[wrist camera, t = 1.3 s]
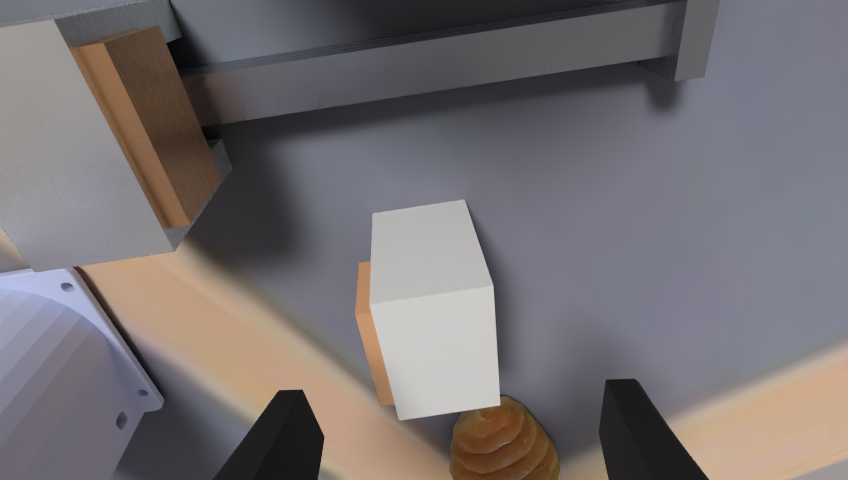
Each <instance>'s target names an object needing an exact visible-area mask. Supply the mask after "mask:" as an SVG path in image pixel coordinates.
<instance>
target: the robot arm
mask: <svg viewBox="0 0 848 480" xmlns="http://www.w3.org/2000/svg"><path fill="white" fill-rule="evenodd" d="M68 283H69V284H71V285H73V286H74V287H73V286H70V285H69V284H68ZM163 404H164V398H163V397H162V395H161V394H160V393H159V391H158V390H157V388H156V387H155V385H154V384H153V382H152V381H151V379H150V378H149V376H148V375H147V373H146V372H145V370H144V369H143V368H142V366H141V365H140V363H139V362H138V360H137V359H136V357H135V356H134V354H133V353H132V351H131V350H130V348H129V347H128V345H127V344H126V343H125V341H124V340H123V338H122V337H121V335H120V334H119V332H118V331H117V329H116V328H115V326H114V325H113V323H112V322H111V321H110V319H109V318H108V316H107V315H106V313H105V312H104V310H103V309H102V307H101V306H100V304H99V303H98V301H97V300H96V298H95V297H94V296H93V294H92V293H91V291H90V290H89V288H88V287H87V285H86V284H85V282H84V281H83V279H82V278H81V276H80V275H79V274H78V272H77V271H76V270H75V269H74V268H73V267H70V268H63V269H57V270H50V271H44V272H37V273H35V272H34V271H33V270H32V268H31V269H25V270H18V271H12V272H5V273H0V480H110V479H111V477H112V475H113V473H114V471H115V469H116V467H117V465H118V463H119V461H120V459H121V457H122V455H123V453H124V451H125V449H126V448H127V446H128V444H129V442H130V440H131V438H132V436H133V434H134V432H135V430H136V428H137V426H138V424H139V422H140V420H141V418H142V417H143V415H144V412H150V411H156V410H159V409H161V408H162V406H163ZM599 435H600V440H601V445H602V450H603V455H604V460H605V464H606V469H607V474H608V478H609V480H709V479H708V478H707V476H706V475H705V474H704V473H703V471H702V470H701V469H700V467H699V466H698V465H697V464H696V462H695V461H694V460H693V459H692V457H691V456H690V455H689V453H688V452H687V451H686V449H685V448H684V447H683V445H682V444H681V443H680V441H679V440H678V439H677V437H676V436H675V435H674V433H673V432H672V430H671V429H670V428H669V426H668V425H667V423H666V422H665V421H664V419H663V418H662V416H661V415H660V414H659V412H658V411H657V409H656V408H655V406H654V405H653V403H652V402H651V400H650V399H649V397H648V396H647V394H646V393H645V391H644V390H643V388H642V387H641V385H640V383H639V382H638V381H637V380H635V379H614V380H606V383H605V390H604V398H603V405H602V413H601V420H600V427H599ZM323 443H324V435H323V433H322V431H321V429H320V426H319V424H318V422H317V420H316V418H315V416H314V413H313V411H312V409H311V407H310V405H309V403H308V400H307V398H306V396H305V394H304V392H303V390H279V391H278V392H277V394H276V395H275V396H274V398H273V399H272V400H271V402H270V403H269V404H268V406H267V407H266V409H265V410H264V411H263V413H262V414H261V416H260V417H259V418H258V420H257V421H256V422H255V424H254V425H253V427H252V428H251V429H250V431H249V432H248V433H247V435H246V436H245V438H244V439H243V440H242V442H241V443H240V444H239V446H238V447H237V448H236V450H235V451H234V452H233V454H232V455H231V456H230V458H229V459H228V460H227V462H226V463H225V464H224V465H223V467H222V468H221V469H220V471H219V472H218V473H217V475H216V476H215V477H214V479H213V480H318V474H319V468H320V463H321V456H322V450H323Z"/></svg>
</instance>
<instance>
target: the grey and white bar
mask: <svg viewBox="0 0 848 480" xmlns="http://www.w3.org/2000/svg"><path fill="white" fill-rule="evenodd" d="M719 1H720V0H628V1H622V2H615V3H609V4H602V5H596V6H589V7H583V8H576V9H570V10H563V11H557V12H550V13H544V14H537V15H531V16H524V17H518V18H511V19H505V20H498V21H492V22H485V23H479V24H472V25H466V26H459V27H452V28H446V29H439V30H433V31H426V32H420V33H413V34H407V35H400V36H394V37H387V38H381V39H374V40H368V41H361V42H355V43H348V44H342V45H335V46H329V47H322V48H316V49H309V50H303V51H296V52H290V53H283V54H277V55H270V56H263V57H257V58H250V59H244V60H237V61H231V62H224V63H218V64H211V65H205V66H198V67H192V68H185V69H179V70H177V68H176V66H175V64H174V61H173V59H172V56H171V54H170V51H169V49H168V46H167V44H166V43H168V42H170V41H172V40H175V39H177V38H180V37H182V34H181V32H180V29H179V26H178V24H177V21H176V19H175V16H174V14H173V11H172V8H171V6H170V3H169V1H168V0H140V1H134V2H127V3H121V4H114V5H108V6H102V7H95V8H89V9H82V10H76V11H69V12H63V13H56V14H50V15H43V16H38V17H33V18H27V19H22V20H16V21H11V22H6V23H0V227H1V228H2V229H3V231H4V232H5V233H6V235H7V236H8V237H9V239H10V240H11V241H12V243H13V244H14V245H15V247H16V248H17V249H18V251H19V252H20V254H21V255H22V256H23V258H24V259H25V260H26V262H27V263H28V264H29V266H30V267H31V268H32V270H33V271H34V272H35V273H37V272H44V271H50V270H57V269H63V268H70V267H76V266H83V265H90V264H96V263H103V262H109V261H116V260H122V259H129V258H136V257H142V256H149V255H155V254H162V253H168V252H174V251H175V250H176V248H177V247H178V246H179V244H180V243H181V241H182V240H183V238H184V237H185V235H186V234H187V233H188V231H189V230H190V228H191V227H192V225H193V224H194V222H195V221H196V220H197V218H198V217H199V215H200V214H201V212H202V211H203V210H204V208H205V207H206V205H207V204H208V202H209V201H210V199H211V198H212V197H213V195H214V194H215V192H216V191H217V189H218V188H219V186H220V185H221V184H222V182H223V181H224V179H225V178H226V176H227V175H228V174H229V172H230V171H231V169H232V168H233V166H232V163H231V161H230V158H229V156H228V153H227V151H226V148H225V145H224V143H223V140H222V138H219V139H213V140H205V137H204V135H203V132H202V130H201V127H206V126H212V125H219V124H225V123H232V122H238V121H245V120H251V119H258V118H264V117H271V116H277V115H284V114H291V113H297V112H304V111H310V110H317V109H323V108H330V107H336V106H343V105H349V104H356V103H362V102H369V101H376V100H382V99H389V98H395V97H402V96H408V95H415V94H421V93H428V92H434V91H441V90H447V89H454V88H461V87H467V86H474V85H480V84H487V83H493V82H500V81H506V80H513V79H519V78H526V77H532V76H539V75H545V74H552V73H559V72H565V71H572V70H578V69H585V68H591V67H598V66H604V65H611V64H617V63H624V62H630V61H637V60H640V67H643V68H645V69H647V70H649V71H652V72H654V73H656V74H658V75H661V76H663V77H665V78H668V79H670V80H672V81H681V80H687V79H694V78H700V77H704V76H705V71H706V66H707V61H708V56H709V51H710V46H711V41H712V36H713V31H714V26H715V21H716V16H717V11H718V6H719Z"/></svg>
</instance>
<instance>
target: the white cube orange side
mask: <svg viewBox="0 0 848 480" xmlns="http://www.w3.org/2000/svg"><path fill="white" fill-rule="evenodd" d="M355 316H356V320H357V323H358V327H359V330H360V334H361V337H362V341H363V344H364V348H365V351H366V355H367V359H368V362H369V366H370V369H371V373H372V376H373V380H374V383H375V387H376V390H377V394H378V397H379V401H380V405H381V407H383V406H389V405H395V407H396V411H397V415H398V418H399V421H400V420H407V419H414V418H420V417H427V416H434V415H440V414H447V413H454V412H460V411H467V410H474V409H480V408H487V407H494V406H500V389H499V372H498V355H497V338H496V321H495V304H494V286H493V283H492V280H491V277H490V274H489V271H488V268H487V265H486V262H485V259H484V256H483V253H482V250H481V247H480V244H479V241H478V238H477V235H476V232H475V229H474V226H473V223H472V220H471V217H470V214H469V211H468V208H467V205H466V202H465V199H464V200H458V201H451V202H444V203H438V204H431V205H425V206H418V207H411V208H405V209H398V210H392V211H385V212H379V213H373V218H372V245H371V261H368V262H362V263H359V270H358V284H357V297H356V311H355Z"/></svg>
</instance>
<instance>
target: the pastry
mask: <svg viewBox="0 0 848 480" xmlns="http://www.w3.org/2000/svg"><path fill="white" fill-rule="evenodd" d="M450 453H451V462H450V473H451V475H452V477H453V479H454V480H558V475H559V470H560V464H559V461H560V459H559V455H558V454H557V452H556V450H555V448H554V445H553V443H552V441H551V439H550V438H549V436H548V435H547V434H546V432H545V431H544V430H543V428H542V427H541V426H540V424H539V423H538V422H537V421H536V420H535V419H534V417H533V416H532V415H531V414H530V413H529V412H528V411H527V409H526V408H525V407H524V406H523V405H522V404H521V403H520V402H517V401H515V400H513V399H511V398H510V397H508V396H500V406H494V407H487V408H480V409H474V410H467V411H461V413H460V415H459V418H458V419H457V421H456V423H455V425H454V427H453V439H452V442H451V444H450Z"/></svg>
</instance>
